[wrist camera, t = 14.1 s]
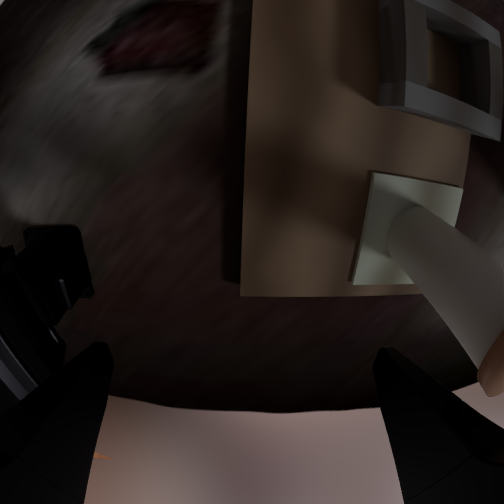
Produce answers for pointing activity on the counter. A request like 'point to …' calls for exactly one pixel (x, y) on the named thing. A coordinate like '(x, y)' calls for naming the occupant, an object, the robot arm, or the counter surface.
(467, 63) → the board
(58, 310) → the robot arm
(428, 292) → the white cylinder brown top
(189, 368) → the counter surface
